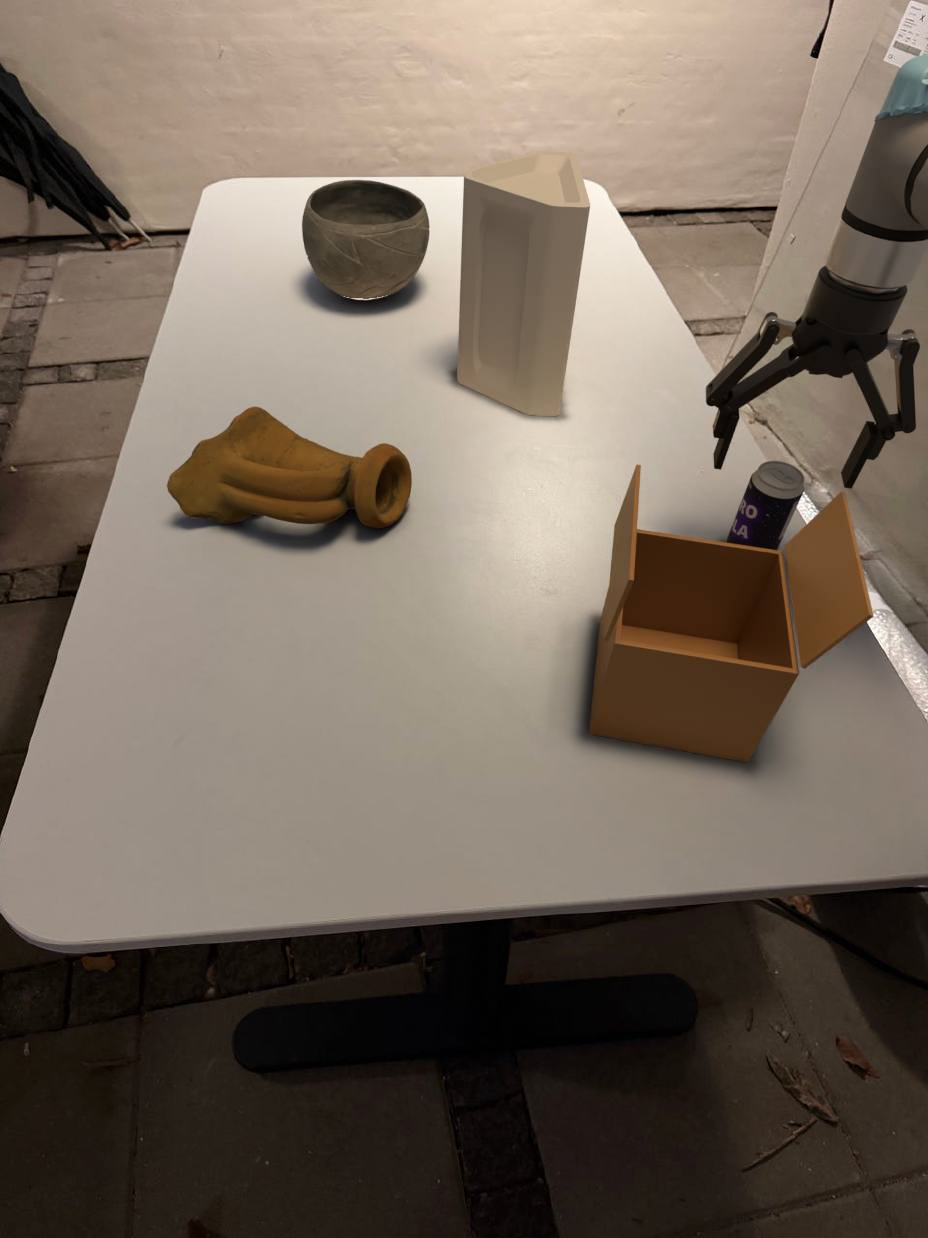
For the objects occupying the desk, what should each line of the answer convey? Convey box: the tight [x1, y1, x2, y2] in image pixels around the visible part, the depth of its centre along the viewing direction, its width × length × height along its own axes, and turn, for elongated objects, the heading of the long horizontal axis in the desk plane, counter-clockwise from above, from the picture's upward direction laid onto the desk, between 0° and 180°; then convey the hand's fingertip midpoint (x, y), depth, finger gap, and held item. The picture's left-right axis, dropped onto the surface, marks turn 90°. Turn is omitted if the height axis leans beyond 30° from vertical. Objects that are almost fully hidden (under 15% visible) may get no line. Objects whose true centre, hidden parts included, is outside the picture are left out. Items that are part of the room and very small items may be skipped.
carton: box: [588, 464, 800, 763], centre depth 71 cm, size 16×15×21 cm
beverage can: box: [725, 460, 805, 550], centre depth 88 cm, size 6×6×12 cm
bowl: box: [301, 179, 431, 299], centre depth 129 cm, size 21×21×15 cm
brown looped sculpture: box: [166, 406, 413, 529], centre depth 90 cm, size 18×13×22 cm
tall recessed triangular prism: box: [456, 151, 591, 417], centre depth 106 cm, size 19×15×28 cm
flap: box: [784, 490, 875, 670], centre depth 65 cm, size 7×15×1 cm
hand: (781, 471), depth 83 cm, fingers open, 13 cm apart
